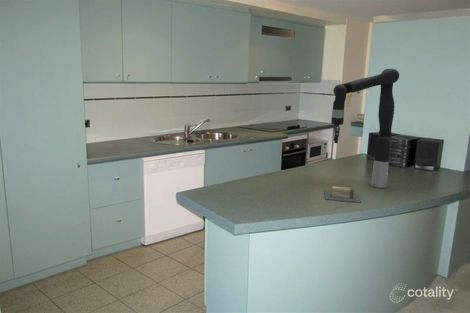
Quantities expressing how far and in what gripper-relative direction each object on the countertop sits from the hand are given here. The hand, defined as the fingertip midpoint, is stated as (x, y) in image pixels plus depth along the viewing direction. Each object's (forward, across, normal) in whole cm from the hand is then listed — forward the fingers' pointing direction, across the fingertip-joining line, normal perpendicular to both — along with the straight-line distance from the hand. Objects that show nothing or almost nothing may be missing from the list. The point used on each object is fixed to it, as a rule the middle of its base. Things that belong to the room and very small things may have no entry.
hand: (335, 141), depth 260 cm
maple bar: (+28, +28, +5) cm, 39 cm away
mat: (+28, +28, +5) cm, 40 cm away
